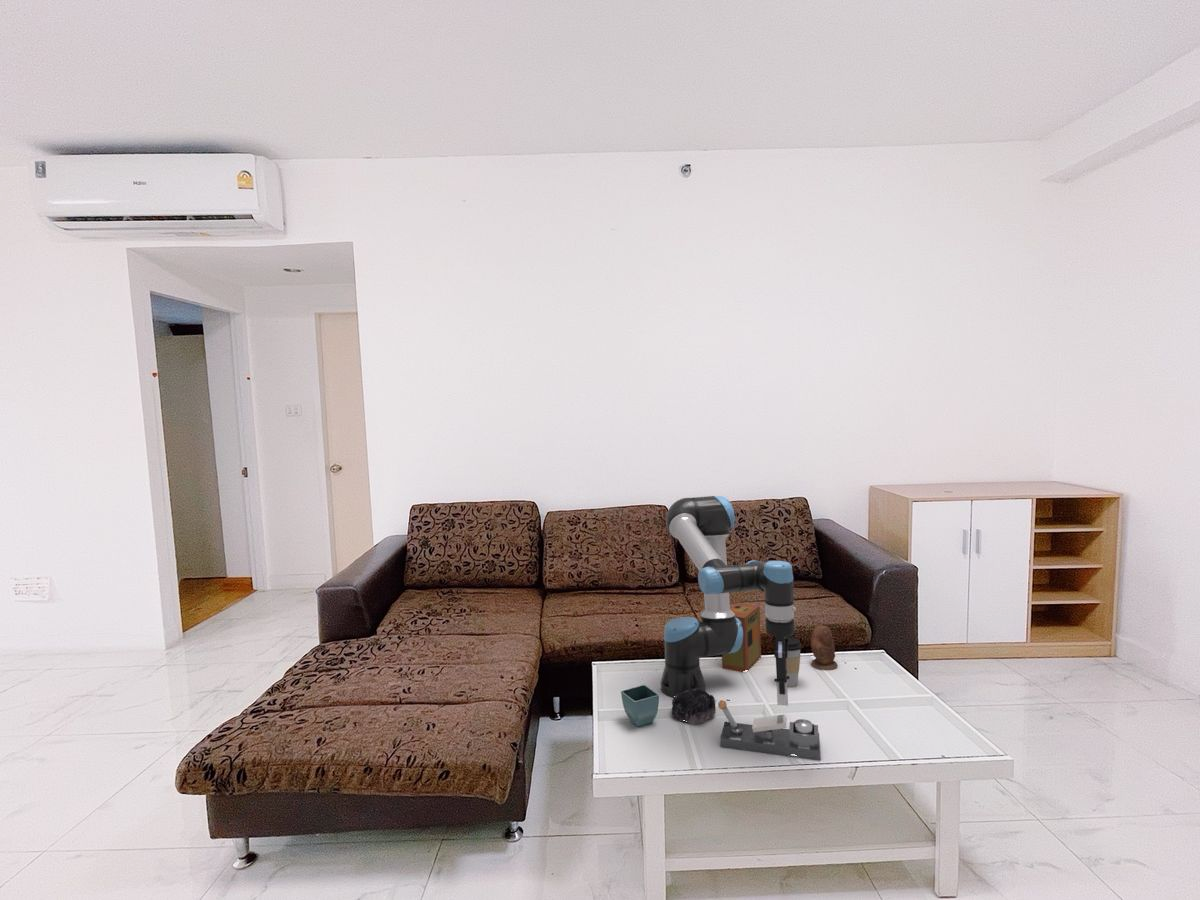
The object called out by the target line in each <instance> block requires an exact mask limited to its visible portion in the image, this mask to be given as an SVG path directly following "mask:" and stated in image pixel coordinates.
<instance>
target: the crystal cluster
mask: <svg viewBox="0 0 1200 900" xmlns="http://www.w3.org/2000/svg"><path fill="white" fill-rule="evenodd" d="M671 705H672V707H671V716H672V717H673V718H675V719H677V720H678V721H680V722H683V720H685V721H687V722H688V724H690V725H698V724H703V723H705V722H706V721H709V720H710V719H713V717H714V715H715V714H716V712H717V709H716V699H715V697H714V696H713V695H712V694H709V693H708V692H707V691H706V690H705V691H704V690H703V689H701V688H700V687H696V688H695V689H690V690H687V691H684V692H682V693H680V694H678V695H677V696H675V697H672V701H671Z"/></svg>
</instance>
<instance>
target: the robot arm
mask: <svg viewBox="0 0 1200 900" xmlns="http://www.w3.org/2000/svg"><path fill="white" fill-rule="evenodd" d="M665 523H666V528H667V531H668V532H669V534H670V535H671V536H672V537H673V538H675V539H677V540H678V541H679V544H680V545H681V546H682V548H683V549H684V550H685V552H686V553H687V555H688V556H689V558H690V560H691V561H692V563H693V564H694V565H695V567H696V568H697V570H698V575H697V581H698V585H699V589H700V591H701V592H702V593H703V599H704V610H703V611H702V613H700V621H699V620H698V619H697V618H695V617H693V616H688V617H687V616H680V617H676V618H673V619H670V620H669V621H668V622H666V623H665V625H664V631H663V640H664V641H663V642H664V644H663V645H664V663H665V664H664V670H663V672H662V676H661V680H660V691H661V692H662V693H663V694H664V695H666V696H669V697H672V698H674V697H673V696H677V695H678V694H680V693H682V692H684V691H687V690H690V689H695V688H696V687H700V688H701V689H703V690H704V691H706V680H705V678H704V675H703V672H702V669H701V665H700V658H705V657H713V656H715V657H716V656H720V655H721V656H722V655H723V654H724V655H727V654H730V653H735V652H737V651H738V650H739V649H740V647H741V645H742V642H743V628H742V627H741V625H742V624H741V622H740V620H739V619H738V618H736V617H735V613H734V612H732V611H731V609H730V607H731V603H730V593H735V592H746V591H749V592H750V591H755V590H756V591H757V590H760V591H762V592H764V608H765V609H764V614H765V618H766V619H765V632H766V633H767V634H768V635H770V636H774V637H773V638H772V639H773V640H772V647H773V656H774V658H775V668H776V669H775V673H776V678H774V680H773V681H774V683H776V697H777V705H778V706H787V707H788V706H789V695H788V693H789V691H788V687H787V679H790V677H789V676H787V665H786V658H787V654H788V639H786V637H785V636H788V637H792V636H793V635H794V634H795V633H796V632H795V631H796V630H795V629H796V628H795V620H794V618H795V614H794V613H795V611H797V607H795V606H794V574H793V566H792V564H791V563H790V562H788V561H782V560H769V561H766V562H764V561H761V560H750V561H747V562H746V563H744V564H743V563H742V564H734V565H733V564H731V565H730V564H729V565H728V561H727V547H726V539H727V537H729V536H730V530H731V529H733V528H734V526H735V523H736V517H735V510H734V508H733V505H732V504H731V502H730V500H729V499H728V498H727V497H725V496H722V495H721V496H720V495H709V496H708V495H707V496H697V497H684V498H680V499H678V500H676V501H675V502H674V503H672V505H671V506H670V507H669V508H668V511H667V513H666V516H665Z"/></svg>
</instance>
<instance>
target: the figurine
mask: <svg viewBox="0 0 1200 900" xmlns="http://www.w3.org/2000/svg"><path fill="white" fill-rule="evenodd" d="M810 647H811V648H810V649H811V652H812V654H813V657H815V658H814V659H812V660H811V663H810V665H811V667H813V668H815V669H818V670H822V669H826V670H825V671H833V670H835V669H838V663H837V662H836V661H835V657H836V654H835V653H836V649H835V648H836V647H835V641H834V637H833V634H832V631H831V629H830V627H828V626H827V625H822V624H821V625H817V626H815V627H814V628H813V630H812V634H811V638H810ZM819 668H820V669H819Z"/></svg>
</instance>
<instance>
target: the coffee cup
mask: <svg viewBox="0 0 1200 900" xmlns="http://www.w3.org/2000/svg"><path fill="white" fill-rule="evenodd" d="M785 637H786V639H788V654H787V658H786V665H787V676H789V677H790V679H787V688H794V687H796V686H798V685H799V684H798V682H799V673H800V664H801V663H800V662H801V649H802V648H803V646H802V643H801V642H800V639H798V638H797V637H793V636H785Z"/></svg>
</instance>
